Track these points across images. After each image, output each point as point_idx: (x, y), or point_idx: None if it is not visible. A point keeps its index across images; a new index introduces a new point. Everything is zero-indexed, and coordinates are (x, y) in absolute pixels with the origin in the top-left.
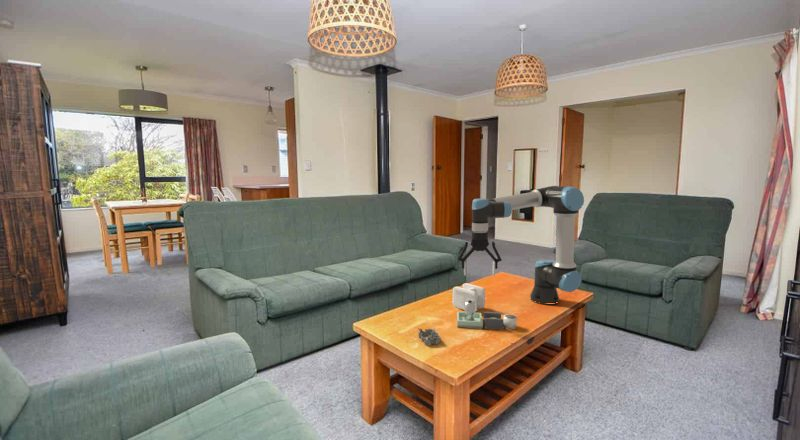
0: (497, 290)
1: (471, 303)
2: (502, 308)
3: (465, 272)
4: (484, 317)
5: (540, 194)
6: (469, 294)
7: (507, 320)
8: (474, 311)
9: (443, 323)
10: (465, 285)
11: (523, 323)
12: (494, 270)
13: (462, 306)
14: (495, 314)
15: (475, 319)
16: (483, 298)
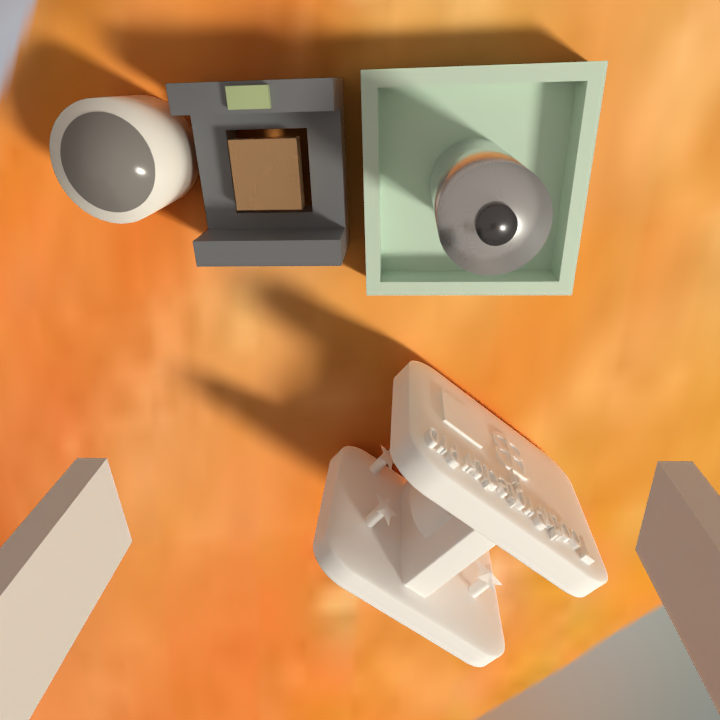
0: (250, 703)
1: (479, 185)
2: (215, 472)
3: (697, 507)
4: (340, 229)
5: None
6: (464, 464)
7: (135, 106)
8: (433, 193)
9: (704, 125)
10: (481, 635)
11: (59, 239)
12: (16, 542)
13: (501, 427)
14: (243, 237)
15: (415, 220)
16: (334, 490)
